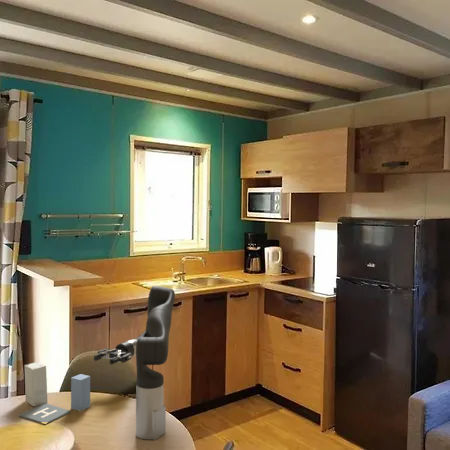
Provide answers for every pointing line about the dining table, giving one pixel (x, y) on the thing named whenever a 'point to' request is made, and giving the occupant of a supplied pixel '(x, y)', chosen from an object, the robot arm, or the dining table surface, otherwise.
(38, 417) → the letter mat
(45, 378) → the skincare box
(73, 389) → the blue block
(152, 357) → the robot arm
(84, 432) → the dining table surface
